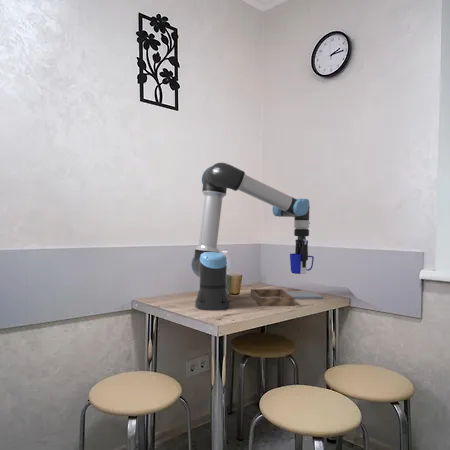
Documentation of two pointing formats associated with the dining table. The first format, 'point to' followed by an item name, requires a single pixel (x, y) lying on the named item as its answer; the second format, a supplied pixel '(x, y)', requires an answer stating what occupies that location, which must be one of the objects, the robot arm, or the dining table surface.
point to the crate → (283, 301)
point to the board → (304, 295)
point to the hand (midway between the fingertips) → (301, 272)
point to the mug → (297, 263)
